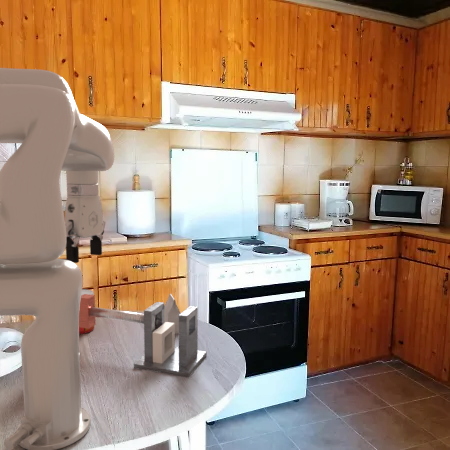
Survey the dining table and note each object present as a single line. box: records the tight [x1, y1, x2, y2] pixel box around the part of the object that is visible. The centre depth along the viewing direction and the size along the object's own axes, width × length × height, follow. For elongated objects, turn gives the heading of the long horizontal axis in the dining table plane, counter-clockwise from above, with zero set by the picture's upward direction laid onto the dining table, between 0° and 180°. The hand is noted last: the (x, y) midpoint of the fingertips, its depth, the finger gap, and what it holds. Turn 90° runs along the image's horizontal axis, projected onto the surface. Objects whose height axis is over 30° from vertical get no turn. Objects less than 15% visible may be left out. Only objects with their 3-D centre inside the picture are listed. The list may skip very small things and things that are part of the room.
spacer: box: [153, 322, 176, 363], centre depth 105 cm, size 7×2×7 cm, turn 162°
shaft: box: [79, 294, 157, 329], centre depth 109 cm, size 3×21×8 cm, turn 73°
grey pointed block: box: [164, 293, 182, 334], centre depth 125 cm, size 4×7×10 cm, turn 18°
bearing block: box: [133, 301, 207, 378], centre depth 105 cm, size 12×14×14 cm
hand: (84, 258), depth 109 cm, fingers open, 9 cm apart
